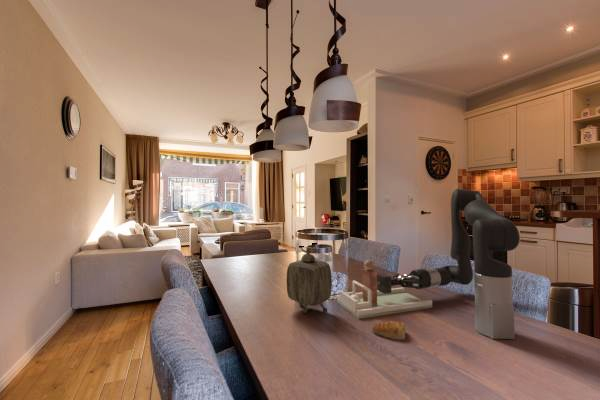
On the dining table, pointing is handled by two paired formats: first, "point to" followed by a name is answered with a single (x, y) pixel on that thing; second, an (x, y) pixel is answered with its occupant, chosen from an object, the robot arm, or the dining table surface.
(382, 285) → the striker
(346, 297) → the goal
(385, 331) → the pastry
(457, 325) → the dining table surface
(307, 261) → the tabletop clock
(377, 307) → the pitch
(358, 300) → the ball
